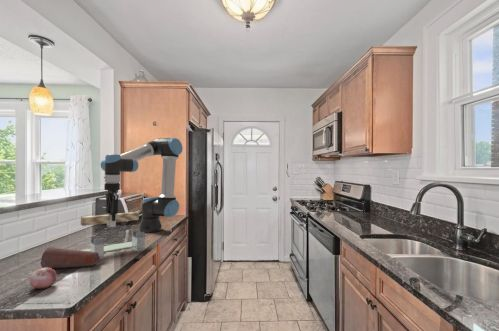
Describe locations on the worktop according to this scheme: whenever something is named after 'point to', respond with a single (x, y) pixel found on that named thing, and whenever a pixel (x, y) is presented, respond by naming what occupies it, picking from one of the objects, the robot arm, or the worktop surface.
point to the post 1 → (97, 246)
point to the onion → (43, 278)
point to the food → (68, 258)
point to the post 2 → (138, 241)
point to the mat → (115, 247)
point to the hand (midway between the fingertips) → (111, 226)
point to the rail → (108, 218)
